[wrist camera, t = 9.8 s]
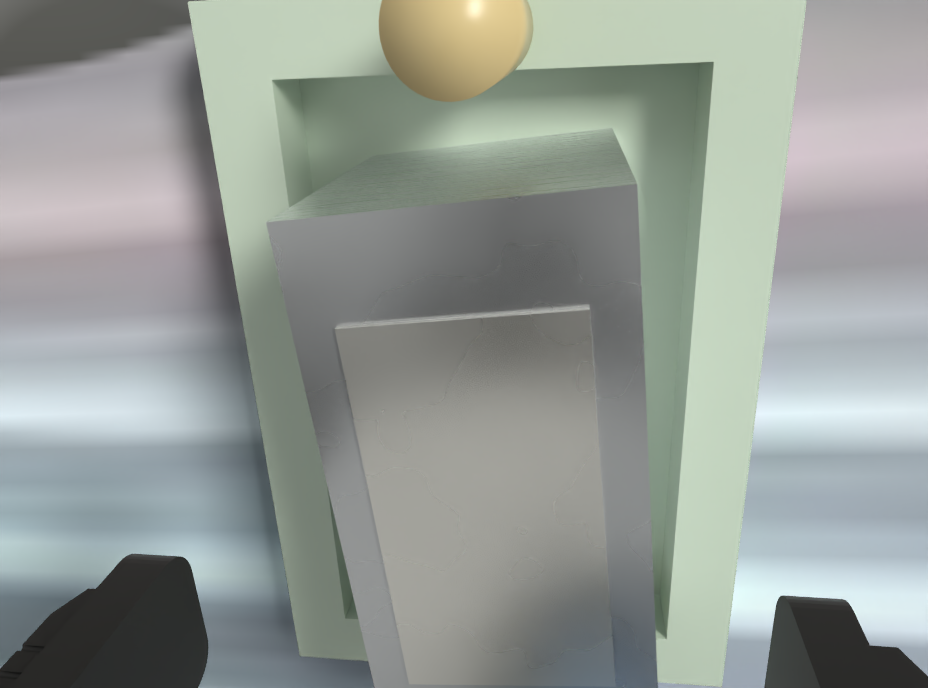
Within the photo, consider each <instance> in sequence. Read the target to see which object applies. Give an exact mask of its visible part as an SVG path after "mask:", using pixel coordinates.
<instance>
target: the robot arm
mask: <svg viewBox="0 0 928 688" xmlns="http://www.w3.org/2000/svg"><path fill="white" fill-rule="evenodd" d="M207 657H208V639H207V634H206V629H205V625H204V621H203V616H202V612H201V608H200V603H199V599H198V595H197V591H196V586H195V582H194V578H193V573H192V569H191V566H190V564H189V562H188V561H187V560H186V559H185V558H183V557H177V556H161V555H145V554H131V555H128V556H126V557H125V558H123V559H122V560H121V561H120V562H119V564H118V565H117V566H116V567H115V568H114V569H113V570H112V571H111V573H110V574H109V575H108V576H107V577H106V578H105V579H104V581H103V582H102V583H101V584H100V585H99V586H98V587H97V588H96V589H87V590H86V591H84V592H83V593H81V594H80V595H78V596H77V597H75V598H74V599H72V600H71V601H69V602H68V603H66V604H65V605H64V606H62V607H61V608H59V609H58V610H56V611H55V612H53V613H52V614H51V615H50V616H49V617H48V618H47V619H46V620H45V621H44V622H43V623H42V624H41V625H40V626H39V628H38V629H37V630H36V631H35V632H34V633H33V634H32V635H31V636H30V637H29V638H28V639H27V641H26V642H25V643H24V644H23V648H22V650H21V651H16V652H15V654H14V655H13V656H12V657H11V658H10V659H9V660H8V661H7V662H6V663H5V664H4V665H3V667H2V668H1V669H0V688H198V686H199V684H200V682H201V680H202V677H203V674H204V671H205V667H206V663H207ZM765 688H928V676H927V675H926V674H925V673H924V672H923V671H922V670H921V669H920V668H918V667H917V666H916V665H915V664H914V663H913V662H912V661H911V660H910V659H909V658H908V657H907V656H906V655H905V654H904V653H903V652H902V651H901V650H900V649H899V648H896V647H882V646H870V645H869V643H868V641H867V639H866V637H865V634H864V632H863V630H862V628H861V626H860V624H859V622H858V620H857V618H856V615H855V613H854V611H853V609H852V607H851V606H850V604H849V603H848V602H847V601H846V600H843V599H828V598H812V597H796V596H780V598H779V599H778V601H777V605H776V610H775V617H774V624H773V631H772V638H771V645H770V652H769V659H768V666H767V673H766V680H765Z"/></svg>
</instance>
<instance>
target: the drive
mask: <svg viewBox="0 0 928 688" xmlns="http://www.w3.org/2000/svg"><path fill="white" fill-rule="evenodd" d="M266 225H267V229H268V233H269V238H270V242H271V246H272V251H273V255H274V259H275V263H276V268H277V272H278V276H279V281H280V285H281V289H282V293H283V298H284V302H285V306H286V311H287V315H288V319H289V323H290V328H291V332H292V336H293V341H294V345H295V349H296V353H297V358H298V362H299V366H300V371H301V375H302V379H303V383H304V388H305V392H306V396H307V401H308V405H309V409H310V413H311V418H312V422H313V426H314V431H315V435H316V439H317V443H318V448H319V452H320V456H321V461H322V465H323V469H324V473H325V478H326V482H327V486H328V491H329V495H330V499H331V503H332V508H333V512H334V516H335V521H336V525H337V529H338V533H339V538H340V542H341V546H342V551H343V555H344V559H345V563H346V568H347V572H348V576H349V581H350V585H351V589H352V593H353V598H354V602H355V606H356V611H357V615H358V619H359V623H360V628H361V632H362V636H363V641H364V645H365V649H366V653H367V658H368V662H369V666H370V671H371V675H372V679H373V683H374V688H658V678H657V654H656V629H655V605H654V580H653V556H652V531H651V507H650V482H649V458H648V433H647V409H646V384H645V360H644V335H643V311H642V286H641V262H640V237H639V213H638V188H637V182H636V180H635V178H634V175H633V173H632V171H631V169H630V166H629V164H628V162H627V160H626V158H625V155H624V153H623V151H622V149H621V146H620V144H619V142H618V140H617V137H616V135H615V133H614V131H613V128H606V129H597V130H589V131H580V132H572V133H563V134H555V135H546V136H537V137H529V138H520V139H512V140H503V141H495V142H486V143H477V144H469V145H460V146H452V147H443V148H435V149H426V150H417V151H409V152H400V153H392V154H383V155H375V156H371V157H370V158H368V159H367V160H365V161H363V162H362V163H360V164H359V165H357V166H355V167H354V168H352V169H351V170H349V171H347V172H346V173H344V174H343V175H341V176H339V177H338V178H336V179H335V180H333V181H331V182H330V183H328V184H327V185H325V186H323V187H322V188H320V189H319V190H317V191H315V192H314V193H312V194H311V195H309V196H307V197H306V198H304V199H303V200H301V201H299V202H298V203H296V204H295V205H293V206H291V207H290V208H288V209H287V210H285V211H283V212H282V213H280V214H279V215H277V216H275V217H274V218H272V219H271V220H269V221H267V222H266Z"/></svg>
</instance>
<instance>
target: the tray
mask: <svg viewBox="0 0 928 688" xmlns="http://www.w3.org/2000/svg"><path fill="white" fill-rule="evenodd" d="M806 1H807V0H207V1H190V2H188V6H189V12H190V17H191V24H192V29H193V35H194V41H195V47H196V53H197V59H198V65H199V70H200V76H201V82H202V88H203V94H204V100H205V105H206V111H207V117H208V123H209V129H210V135H211V141H212V146H213V152H214V158H215V164H216V170H217V176H218V181H219V187H220V193H221V199H222V205H223V211H224V216H225V222H226V228H227V234H228V240H229V246H230V252H231V257H232V263H233V269H234V275H235V281H236V287H237V292H238V298H239V304H240V310H241V316H242V322H243V328H244V333H245V339H246V345H247V351H248V357H249V363H250V368H251V374H252V380H253V386H254V392H255V398H256V404H257V409H258V415H259V421H260V427H261V433H262V439H263V444H264V450H265V456H266V462H267V468H268V474H269V479H270V485H271V491H272V497H273V503H274V509H275V515H276V520H277V526H278V532H279V538H280V544H281V550H282V555H283V561H284V567H285V573H286V579H287V585H288V591H289V596H290V602H291V608H292V614H293V620H294V626H295V631H296V637H297V643H298V649H299V655H300V656H304V657H317V658H331V659H345V660H359V661H368V658H367V653H366V649H365V645H364V641H363V636H362V632H361V628H360V623H359V619H358V615H357V611H356V606H355V602H354V598H353V593H352V589H351V585H350V581H349V576H348V572H347V568H346V563H345V559H344V555H343V551H342V546H341V542H340V538H339V533H338V529H337V525H336V521H335V516H334V512H333V508H332V503H331V499H330V495H329V491H328V486H327V482H326V478H325V473H324V469H323V465H322V461H321V456H320V452H319V448H318V443H317V439H316V435H315V431H314V426H313V422H312V418H311V413H310V409H309V405H308V401H307V396H306V392H305V388H304V383H303V379H302V375H301V371H300V366H299V362H298V358H297V353H296V349H295V345H294V341H293V336H292V332H291V328H290V323H289V319H288V315H287V311H286V306H285V302H284V298H283V293H282V289H281V285H280V281H279V276H278V272H277V268H276V263H275V259H274V255H273V251H272V246H271V242H270V238H269V233H268V229H267V225H266V222H267V221H269V220H271V219H272V218H274V217H275V216H277V215H279V214H280V213H282V212H283V211H285V210H287V209H288V208H290V207H291V206H293V205H295V204H296V203H298V202H299V201H301V200H303V199H304V198H306V197H307V196H309V195H311V194H312V193H314V192H315V191H317V190H319V189H320V188H322V187H323V186H325V185H327V184H328V183H330V182H331V181H333V180H335V179H336V178H338V177H339V176H341V175H343V174H344V173H346V172H347V171H349V170H351V169H352V168H354V167H355V166H357V165H359V164H360V163H362V162H363V161H365V160H367V159H368V158H370V157H371V156H375V155H383V154H392V153H400V152H409V151H417V150H426V149H435V148H443V147H452V146H460V145H469V144H477V143H486V142H495V141H503V140H512V139H520V138H529V137H537V136H546V135H555V134H563V133H572V132H580V131H589V130H597V129H606V128H613V131H614V133H615V135H616V137H617V140H618V142H619V144H620V146H621V149H622V151H623V153H624V155H625V158H626V160H627V162H628V164H629V166H630V169H631V171H632V173H633V175H634V178H635V180H636V182H637V188H638V213H639V237H640V262H641V286H642V311H643V335H644V360H645V384H646V409H647V433H648V458H649V482H650V507H651V531H652V556H653V580H654V605H655V629H656V654H657V678H658V682H662V683H676V684H689V685H703V686H717V687H722V681H723V673H724V664H725V656H726V648H727V640H728V632H729V624H730V616H731V608H732V600H733V592H734V584H735V575H736V567H737V559H738V551H739V543H740V535H741V527H742V519H743V511H744V503H745V494H746V486H747V478H748V470H749V462H750V454H751V446H752V438H753V430H754V422H755V413H756V405H757V397H758V389H759V381H760V373H761V365H762V357H763V349H764V341H765V333H766V324H767V316H768V308H769V300H770V292H771V284H772V276H773V268H774V260H775V252H776V243H777V235H778V227H779V219H780V211H781V203H782V195H783V187H784V179H785V171H786V163H787V154H788V146H789V138H790V130H791V122H792V114H793V106H794V98H795V90H796V82H797V73H798V65H799V57H800V49H801V41H802V33H803V25H804V17H805V9H806Z"/></svg>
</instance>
